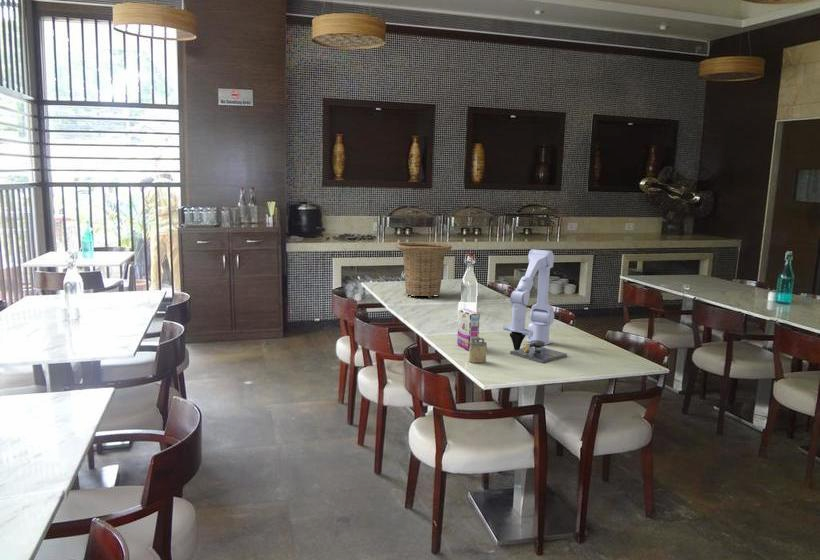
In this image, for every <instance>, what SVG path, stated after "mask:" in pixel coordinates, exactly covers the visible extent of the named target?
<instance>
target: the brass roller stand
mask: <svg viewBox="0 0 820 560" xmlns="http://www.w3.org/2000/svg"><path fill="white" fill-rule="evenodd" d="M533 346H534V347H544V348H545V346H546V345H545V342H544V341H539V340H533V341H531V342H530V343H524V344H523V348H524V351H523V353H529V347H533Z"/></svg>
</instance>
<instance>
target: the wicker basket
mask: <svg viewBox="0 0 820 560" xmlns="http://www.w3.org/2000/svg"><path fill="white" fill-rule="evenodd" d="M452 248H453V246H452V245H451V244H448V243H443V242H431V241H429V242H427V241H405V242H404V241H403V242H398V243H397V244H396V249H398V250H400V251H401V253H402V257H403V267H404V268H403V269H404V281H405V282H404V283H405V284H404V285H405V295H406V294H408V295H414V297H415V296H434V295H438V294H439V293H440V292H441V286H442V279H443V269H444V263H445V262H444V261H445V256H446V254H447V252H449V251H451V250H452ZM439 295H440V294H439Z"/></svg>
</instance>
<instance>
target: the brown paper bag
mask: <svg viewBox="0 0 820 560" xmlns="http://www.w3.org/2000/svg"><path fill="white" fill-rule="evenodd" d="M475 340H477V342H474V341H475ZM487 346H488V345H487V342H485V338H483V337H477V338H472V342H470V350H469V351H468V352H469V354H468V355H469V356H468V362H469V363H472V364H480V363H481V364H482V363H483V364H484V363H487V348H488V347H487Z"/></svg>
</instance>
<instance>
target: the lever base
mask: <svg viewBox="0 0 820 560" xmlns="http://www.w3.org/2000/svg"><path fill="white" fill-rule="evenodd" d="M523 351H524V347H522V348H521V347H520V349H519V350H514V349H513V350H510V351H509V352H510V353H509V354H510V355H512V354H513V355H512V356H516V355H517V356H516V357H519V356H520V358H524V359H526V358H527V359H526V360H531V361H534V362H538V363H541V364H544V363H547V362H551V361H555V359H556V360H558V359H562V358H565V357H566V358H567V357H568V354H567V353H566V352H562V351H560V350H559V351H558V350H554V349H551V348H548V347H545V346H544V347H534V346H533V347H529V353H523Z"/></svg>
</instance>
